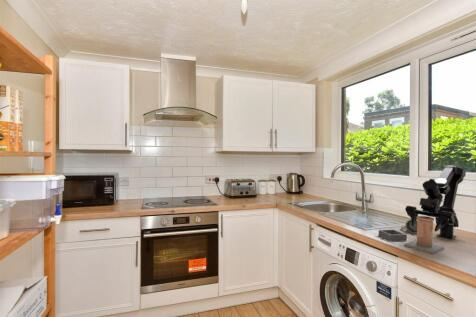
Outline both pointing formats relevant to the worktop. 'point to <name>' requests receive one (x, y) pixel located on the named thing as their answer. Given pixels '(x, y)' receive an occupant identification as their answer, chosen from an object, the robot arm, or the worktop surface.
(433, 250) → the mat
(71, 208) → the worktop surface
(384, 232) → the holder
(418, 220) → the peach rounded cylinder
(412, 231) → the ceramic mug
